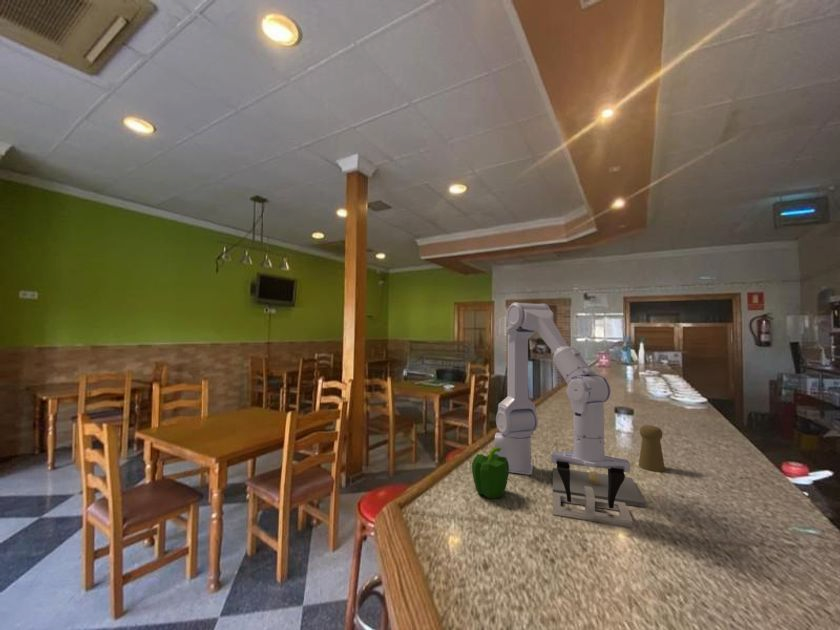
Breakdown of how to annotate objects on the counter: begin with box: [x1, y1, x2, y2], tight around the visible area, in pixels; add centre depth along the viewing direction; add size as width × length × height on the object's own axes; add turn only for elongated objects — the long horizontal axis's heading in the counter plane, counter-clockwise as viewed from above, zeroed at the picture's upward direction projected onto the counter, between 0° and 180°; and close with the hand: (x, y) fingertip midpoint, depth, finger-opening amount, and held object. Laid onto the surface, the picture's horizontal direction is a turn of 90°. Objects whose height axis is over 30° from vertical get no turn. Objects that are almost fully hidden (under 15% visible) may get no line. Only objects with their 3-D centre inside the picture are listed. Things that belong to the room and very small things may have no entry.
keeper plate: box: [552, 467, 646, 509], centre depth 86 cm, size 18×14×3 cm
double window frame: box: [552, 486, 634, 529], centre depth 75 cm, size 14×8×4 cm, turn 70°
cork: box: [638, 424, 666, 473], centre depth 100 cm, size 6×6×11 cm
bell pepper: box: [471, 447, 510, 499], centre depth 82 cm, size 8×8×10 cm
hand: (589, 502), depth 75 cm, fingers open, 7 cm apart
